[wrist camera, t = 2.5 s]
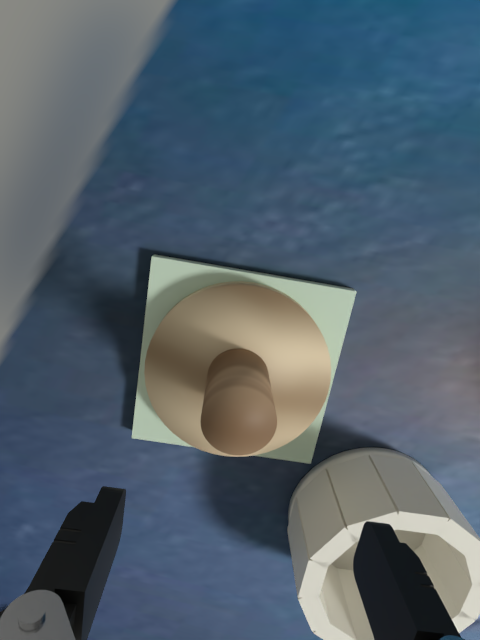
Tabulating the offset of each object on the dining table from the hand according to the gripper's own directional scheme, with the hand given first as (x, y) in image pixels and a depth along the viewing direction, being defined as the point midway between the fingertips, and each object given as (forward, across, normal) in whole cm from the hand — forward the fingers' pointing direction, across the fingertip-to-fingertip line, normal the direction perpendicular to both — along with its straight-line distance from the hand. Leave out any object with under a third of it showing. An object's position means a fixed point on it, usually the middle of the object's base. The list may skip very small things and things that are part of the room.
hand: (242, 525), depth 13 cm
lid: (+12, 0, 0) cm, 12 cm away
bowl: (+13, -11, +10) cm, 19 cm away
